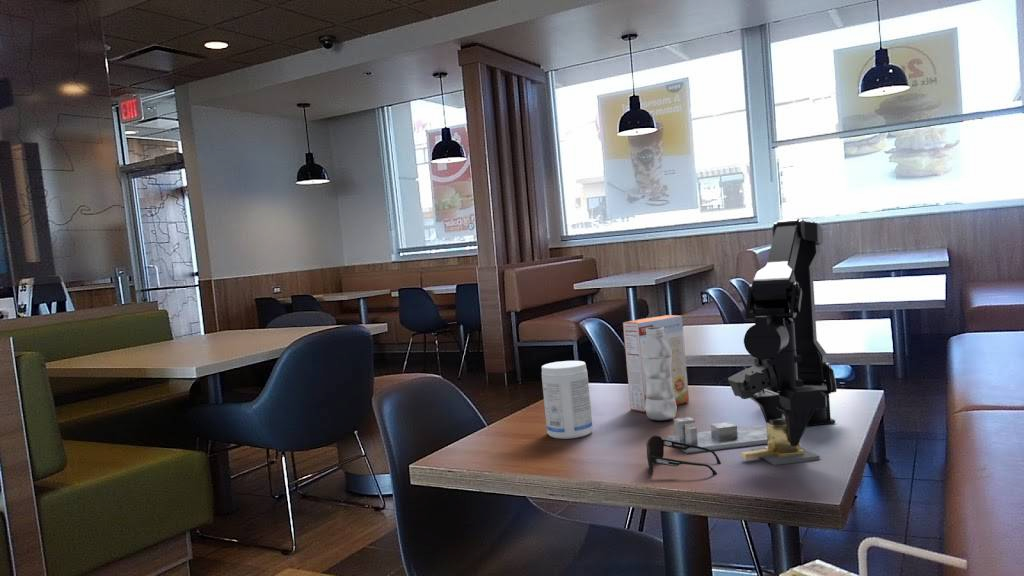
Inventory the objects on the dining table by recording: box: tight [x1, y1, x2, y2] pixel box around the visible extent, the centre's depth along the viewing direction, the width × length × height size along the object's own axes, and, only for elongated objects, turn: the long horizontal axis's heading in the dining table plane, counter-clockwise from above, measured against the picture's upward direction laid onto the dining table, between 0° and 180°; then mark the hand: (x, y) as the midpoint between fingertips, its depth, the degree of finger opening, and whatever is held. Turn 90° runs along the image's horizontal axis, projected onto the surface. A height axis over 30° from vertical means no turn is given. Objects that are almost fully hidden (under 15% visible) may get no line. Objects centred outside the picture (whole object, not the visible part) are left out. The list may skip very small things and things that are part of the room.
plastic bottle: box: [641, 327, 678, 422], centre depth 153 cm, size 6×7×20 cm
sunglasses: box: [645, 435, 722, 475], centre depth 119 cm, size 10×12×5 cm
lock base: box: [666, 416, 768, 454], centre depth 133 cm, size 19×10×5 cm, turn 97°
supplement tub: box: [541, 360, 593, 440], centre depth 148 cm, size 10×10×15 cm
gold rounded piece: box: [741, 417, 804, 460], centre depth 120 cm, size 10×5×6 cm, turn 100°
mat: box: [751, 446, 821, 466], centre depth 121 cm, size 8×8×1 cm
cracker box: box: [622, 314, 690, 413], centre depth 166 cm, size 14×6×21 cm, turn 122°
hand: (784, 440), depth 121 cm, fingers open, 6 cm apart
